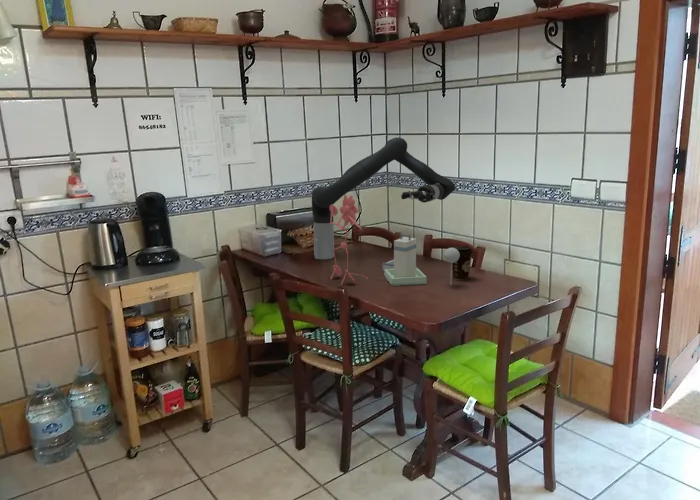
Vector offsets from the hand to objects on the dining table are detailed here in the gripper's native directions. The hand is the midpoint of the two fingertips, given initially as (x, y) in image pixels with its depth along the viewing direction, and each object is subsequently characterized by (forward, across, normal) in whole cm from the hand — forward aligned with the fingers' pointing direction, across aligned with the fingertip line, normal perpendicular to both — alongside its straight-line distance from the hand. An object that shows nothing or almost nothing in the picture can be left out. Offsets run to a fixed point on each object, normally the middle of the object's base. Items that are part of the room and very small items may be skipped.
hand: (410, 197), depth 240 cm
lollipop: (+19, +30, +30) cm, 47 cm away
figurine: (+35, -7, +30) cm, 47 cm away
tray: (+24, +11, +30) cm, 40 cm away
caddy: (+23, +11, +29) cm, 39 cm away
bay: (+12, +1, +30) cm, 32 cm away
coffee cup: (+9, +29, +30) cm, 43 cm away
